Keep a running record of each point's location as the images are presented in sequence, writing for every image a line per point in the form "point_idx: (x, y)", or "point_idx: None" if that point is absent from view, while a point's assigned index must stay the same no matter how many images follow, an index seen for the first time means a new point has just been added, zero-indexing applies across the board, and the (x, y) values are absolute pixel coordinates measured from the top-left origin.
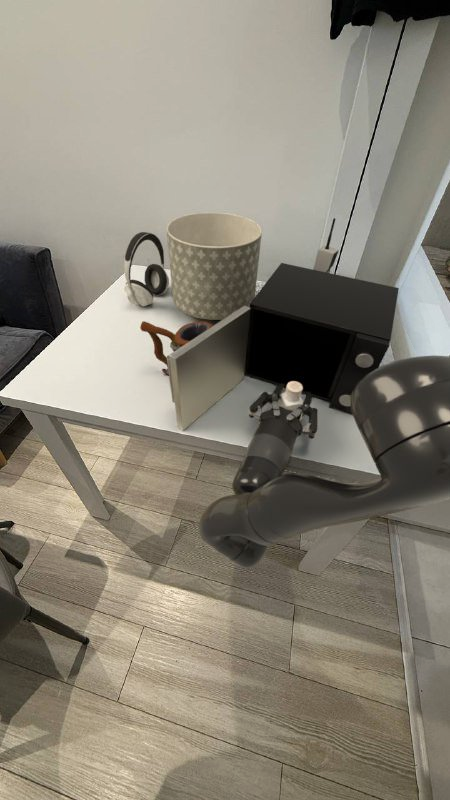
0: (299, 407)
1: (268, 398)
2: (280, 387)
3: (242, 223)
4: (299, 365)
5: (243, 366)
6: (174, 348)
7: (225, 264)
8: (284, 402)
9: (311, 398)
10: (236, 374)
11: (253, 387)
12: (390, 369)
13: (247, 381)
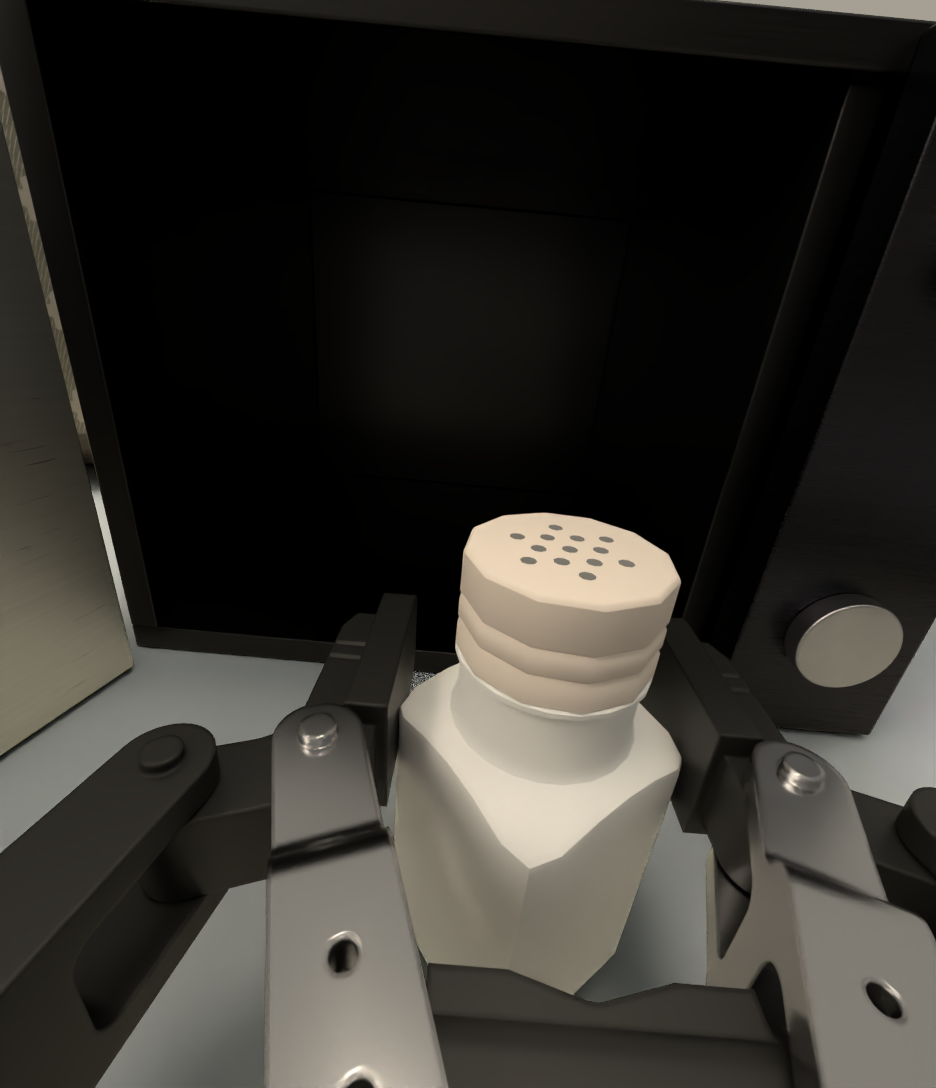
0: (798, 867)
1: (221, 822)
2: (384, 629)
3: None
4: (455, 553)
5: (88, 567)
6: None
7: (9, 124)
8: (478, 811)
9: (732, 674)
10: (5, 630)
11: (198, 709)
12: None
13: (160, 678)
